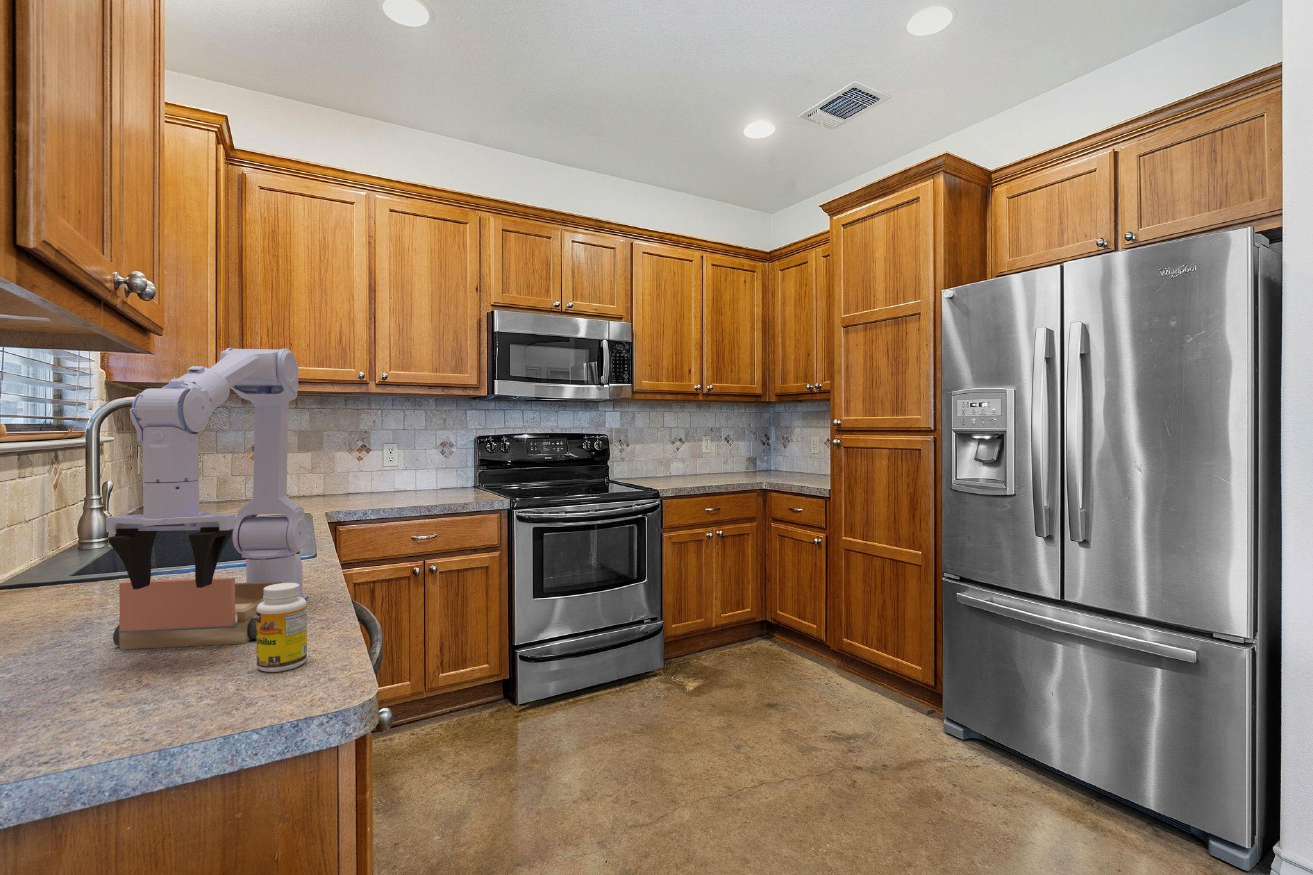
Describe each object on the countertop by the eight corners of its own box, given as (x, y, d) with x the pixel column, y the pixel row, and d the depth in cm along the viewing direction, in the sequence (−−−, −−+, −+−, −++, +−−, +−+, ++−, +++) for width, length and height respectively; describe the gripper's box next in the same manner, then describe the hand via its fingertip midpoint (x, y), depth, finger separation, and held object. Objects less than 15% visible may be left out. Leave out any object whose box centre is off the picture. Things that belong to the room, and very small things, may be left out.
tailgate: (123, 631, 87) (122, 581, 87) (237, 626, 89) (236, 577, 89) (118, 633, 86) (117, 583, 86) (233, 628, 88) (232, 579, 88)
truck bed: (164, 624, 99) (164, 585, 99) (289, 618, 102) (289, 581, 102) (110, 650, 87) (110, 606, 87) (253, 643, 90) (253, 600, 90)
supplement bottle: (247, 668, 80) (246, 588, 80) (291, 655, 85) (290, 579, 85) (272, 677, 77) (271, 593, 77) (316, 662, 82) (315, 583, 82)
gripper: (85, 484, 77) (87, 596, 77) (212, 483, 78) (213, 592, 78) (129, 480, 84) (130, 582, 84) (244, 478, 85) (245, 579, 85)
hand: (172, 586), depth 81 cm, fingers open, 7 cm apart
